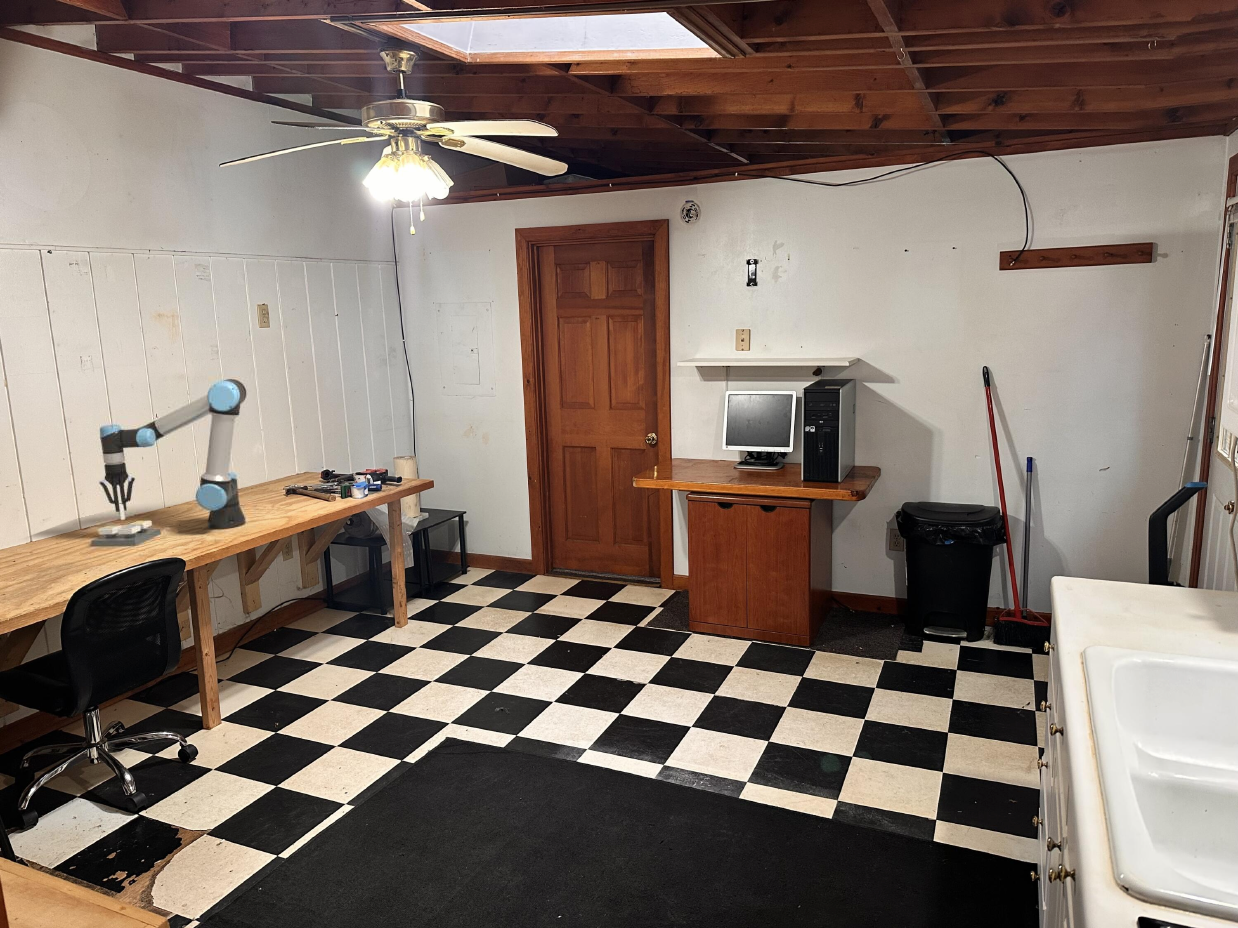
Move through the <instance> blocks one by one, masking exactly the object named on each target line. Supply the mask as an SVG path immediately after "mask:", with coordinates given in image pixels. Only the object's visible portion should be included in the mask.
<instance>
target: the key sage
mask: <svg viewBox="0 0 1238 928" xmlns="http://www.w3.org/2000/svg"><path fill="white" fill-rule="evenodd" d="M120 528H121V526H119V525H106V526H103V527H101V528H99V529H97V531H98V535H106V538H113V537H115V536H116V535H115V533H117V532H118V529H120Z"/></svg>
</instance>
